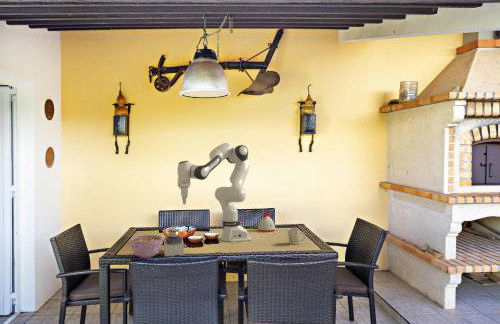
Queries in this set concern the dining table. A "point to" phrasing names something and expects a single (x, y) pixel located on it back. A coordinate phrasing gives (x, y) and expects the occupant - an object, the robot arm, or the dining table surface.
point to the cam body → (173, 246)
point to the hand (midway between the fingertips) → (184, 203)
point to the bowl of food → (146, 245)
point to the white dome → (266, 224)
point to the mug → (294, 235)
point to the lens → (173, 232)
